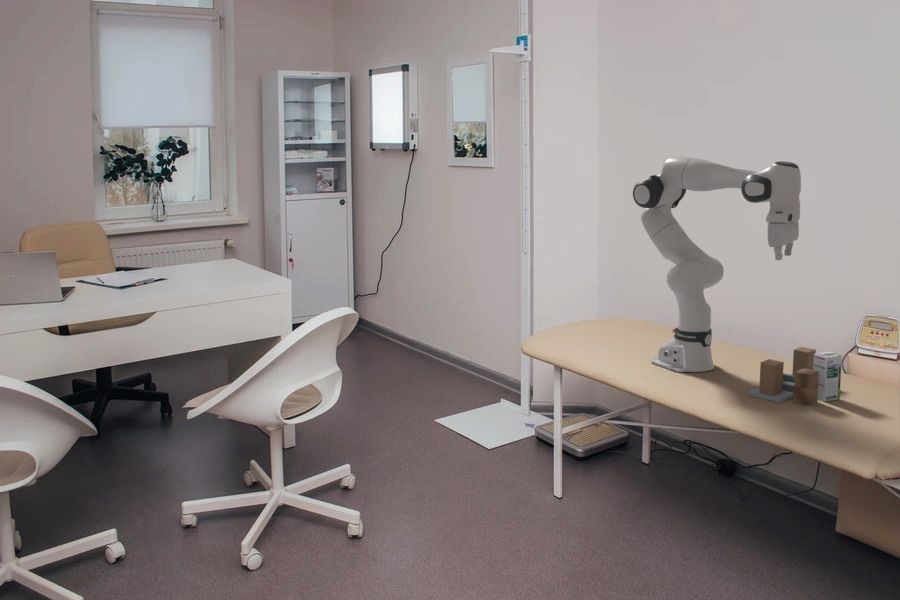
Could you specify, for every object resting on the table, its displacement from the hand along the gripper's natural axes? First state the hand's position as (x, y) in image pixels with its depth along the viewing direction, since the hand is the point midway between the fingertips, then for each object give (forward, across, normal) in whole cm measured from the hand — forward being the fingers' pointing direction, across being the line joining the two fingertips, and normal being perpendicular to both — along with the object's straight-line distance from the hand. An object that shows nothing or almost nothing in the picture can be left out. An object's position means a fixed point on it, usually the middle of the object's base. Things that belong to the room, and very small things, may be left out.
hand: (783, 257), depth 263 cm
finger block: (+44, +9, +10) cm, 46 cm away
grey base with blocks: (+43, -1, +2) cm, 43 cm away
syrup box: (+44, +2, +15) cm, 46 cm away
